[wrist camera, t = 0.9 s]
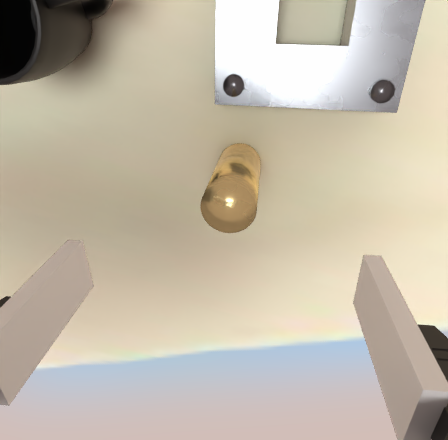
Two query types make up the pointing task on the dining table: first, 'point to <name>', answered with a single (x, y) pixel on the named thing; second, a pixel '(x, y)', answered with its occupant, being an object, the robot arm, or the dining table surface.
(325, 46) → the jig
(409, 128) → the dining table surface
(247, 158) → the brass cylinder
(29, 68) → the mug
